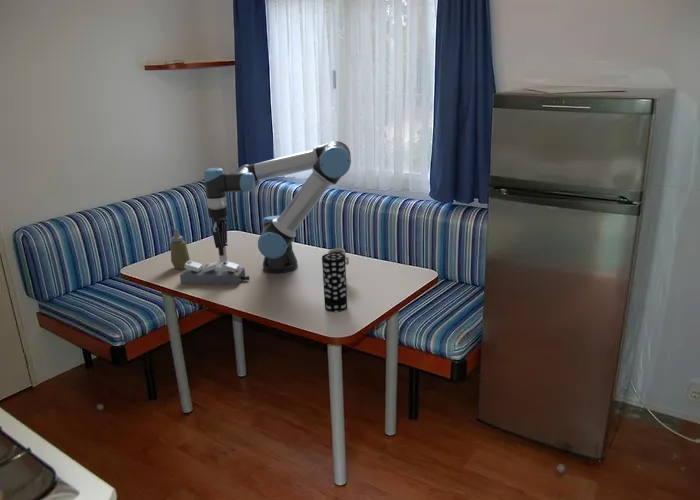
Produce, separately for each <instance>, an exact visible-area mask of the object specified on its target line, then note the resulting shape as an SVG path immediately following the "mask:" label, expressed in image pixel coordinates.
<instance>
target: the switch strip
mask: <svg viewBox="0 0 700 500" xmlns="http://www.w3.org/2000/svg"><path fill="white" fill-rule="evenodd" d="M204 267H205V266H204ZM204 267H203V266H202V269H201V270H200V271H199V272H196V271H193V270H189V269H186V268H185V269H184V270H183V271H182V273H180V274H179V278H180V279H179V280H180V284H181V285H216V284H220V285H222V286H223V285H224V286H225V285H227V286H232V285H233V286H234V285H235V286H239V285H240V284H241V283H242V282H243V281H249V280H250V276H249V275H246V272H245V267H239V268H238V270H237V271H236V272H231V271H228V270H225V269H222V268H221V267H220V266H219V267H218V268H216V269H213V270H210V271H207V272H204V270H203V268H204ZM241 281H242V282H241ZM220 285H219V286H220Z"/></svg>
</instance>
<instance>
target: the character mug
mask: <svg viewBox="0 0 700 500" xmlns="http://www.w3.org/2000/svg"><path fill="white" fill-rule="evenodd" d="M328 253H341V254H344V255H345V265H347V266H348V265H350V258H349V257H348V256H346V250H345V249H344V248H332V249H329V250H328V251H327V254H328Z"/></svg>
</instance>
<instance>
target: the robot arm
mask: <svg viewBox="0 0 700 500" xmlns="http://www.w3.org/2000/svg"><path fill="white" fill-rule="evenodd" d="M351 165H352V156H351V151H350V149H349V147H348V145H347V144H345V143H344V142H342V141H339V140H338V141H336V140H335V141H330V142H327V143H323V144H320V145H317V146H314V148H313V149H311V150H306V151H302V152H297V153H294V154H289V155H286V156H282V157H278V158H273V159H268V160H265V161H261V162H258V163H252V164H243V165H241V166H239V167H238V168H237V170H236V171H235V172H232V173H231V172H230V173H225V172H224V170H223V168H221V167H211V168H210V167H209V168H207V169H204V172H203V176H204V182H203V183H204V186H205V187H204V189H205V195H206V196H205V197H206V199H205V202H206V203H207V204H206V205H207V207H208V208H207V213H208V217H209V219H212V226H213V227H211V228H210V230H211V233H212V237H213V241H214V246H215V248H216V249H217V250H218V259H219V260H218V261H220V263H224V262H227V261H228V256H227V247H228V245H229V244H228V219H226V217H227V216H228V207H227V195H226V193H249V192H253V191H254V190H255V189H256V188H255V187H256V183H258V182H262V181H266V180H271V179H276V178H279V177H280V178H281V177H283V176H288V175H292V174H296V173H300V172H304V171H308V170H309V171H310V170H312V172H311V174H310V175H309V176H308V177H307V179H306V181H305V182H304V183H303V184H302V186H301V187H300V188H299V189H298V191H297V192H296V193H295V195H294V196H293V198H292V199H291V200H290V201H289V203H288V204H287V206H286V207H285V208H284V210H283V211H282V212H281V214H280V215H271V216H266V217H264V218H262V225H263V230H262V232H261V234H260V236H259V238H258V239H257V247H258V251H259V252H260V253H261V255H263V262H262V268H263V270H264V271H265V272H266V273H273V274H281V273H287V272H291V271H293V270H295V269H296V268H298V265H299V264H298V259H297V258H296V255H295V252H294V249H293V240H294V239H295V237H296V235H297V234H296V230H297V229H298V228H299V227H300V225H301V224H302V223H303V221H304V220H305V219H306V218H307V216H308V215H309V214H310V212H311V211H312V209H313V208H315V206H316V205H317V203H318V201H320V199H321V198H322V196H323V195H324V194H325V192H326V191H327V190H328V189H329V188H330V186H335V185H337V183H338V181H340V179H341V178H342V177H343V176H345V175H346V174H347V173H348V172H349V170H350V168H351Z"/></svg>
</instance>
